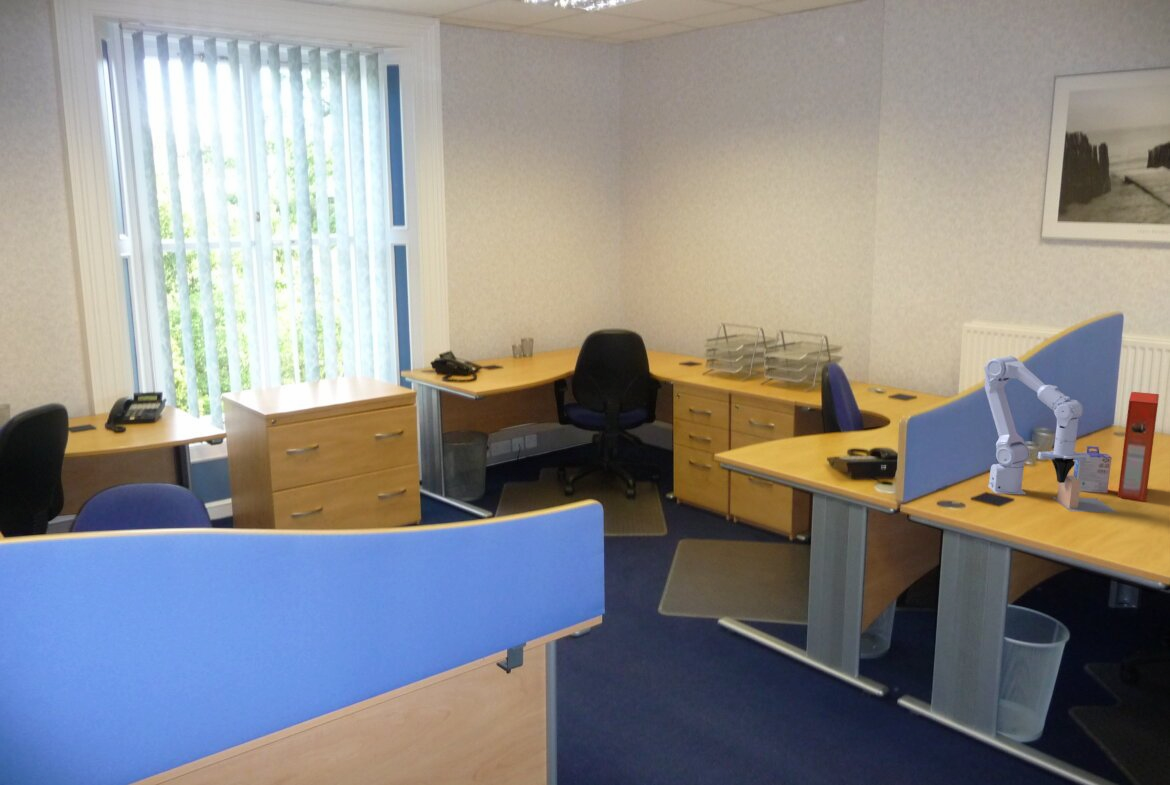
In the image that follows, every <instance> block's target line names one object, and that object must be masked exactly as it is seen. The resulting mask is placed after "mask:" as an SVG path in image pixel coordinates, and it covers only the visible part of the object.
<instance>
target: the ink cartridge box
mask: <svg viewBox="0 0 1170 785" xmlns="http://www.w3.org/2000/svg"><path fill="white" fill-rule="evenodd" d="M1091 449H1093V450H1091ZM1086 453H1087V454H1089V455H1090V456H1089V461H1085V460H1074V462H1075V464H1074V466H1073V474H1072V475H1073V476H1075V477H1076V478H1078V479H1079V480H1081V485H1080V492H1085V493H1087V492H1088V493H1105V494H1107V493H1108V491H1109V484H1110V483H1109V481H1110V470H1111V466H1112V456H1110V455H1109V454H1108V453H1100V448H1099V446H1091V445H1090V446H1089V445H1086Z"/></svg>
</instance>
